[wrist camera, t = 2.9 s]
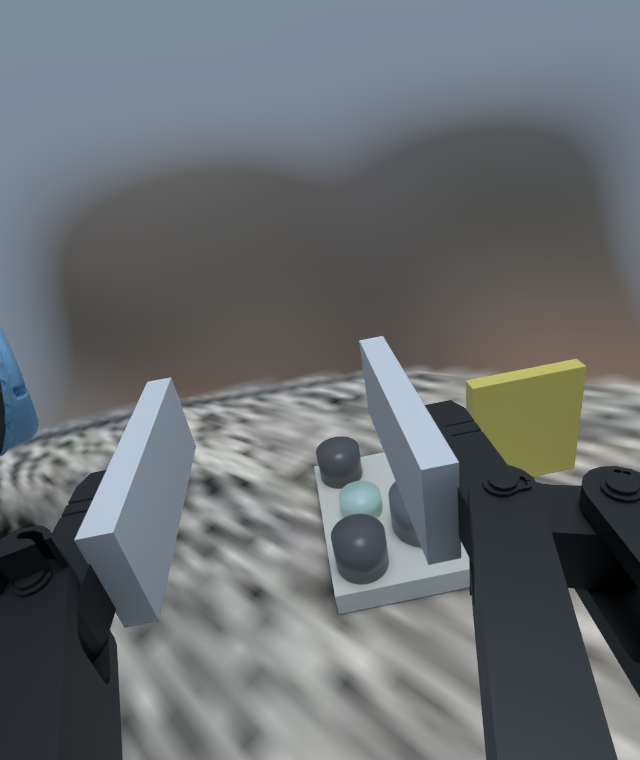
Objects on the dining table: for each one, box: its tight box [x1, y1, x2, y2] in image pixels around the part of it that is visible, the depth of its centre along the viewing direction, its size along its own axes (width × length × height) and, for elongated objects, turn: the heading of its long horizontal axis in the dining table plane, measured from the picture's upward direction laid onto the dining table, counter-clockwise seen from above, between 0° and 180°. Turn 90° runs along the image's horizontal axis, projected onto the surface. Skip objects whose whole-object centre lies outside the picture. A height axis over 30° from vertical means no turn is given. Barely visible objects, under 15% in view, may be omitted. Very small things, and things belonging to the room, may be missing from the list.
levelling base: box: [314, 437, 470, 614], centre depth 40 cm, size 18×15×5 cm
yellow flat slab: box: [388, 359, 586, 546], centre depth 35 cm, size 14×5×12 cm, turn 96°
